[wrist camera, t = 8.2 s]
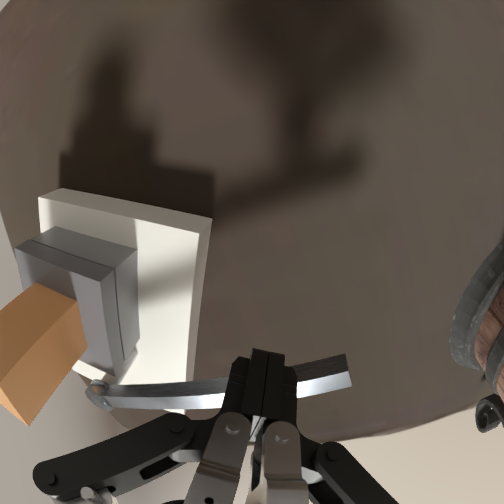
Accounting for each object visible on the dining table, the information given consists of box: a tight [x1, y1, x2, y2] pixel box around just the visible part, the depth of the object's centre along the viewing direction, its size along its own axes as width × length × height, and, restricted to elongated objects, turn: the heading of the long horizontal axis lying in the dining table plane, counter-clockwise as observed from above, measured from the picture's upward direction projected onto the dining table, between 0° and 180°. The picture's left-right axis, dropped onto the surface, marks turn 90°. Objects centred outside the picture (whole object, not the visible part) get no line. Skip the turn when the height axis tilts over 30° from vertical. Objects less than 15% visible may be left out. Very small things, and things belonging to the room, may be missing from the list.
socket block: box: [31, 188, 212, 415], centre depth 20 cm, size 20×14×8 cm
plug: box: [0, 240, 124, 426], centre depth 14 cm, size 8×8×12 cm
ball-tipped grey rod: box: [85, 354, 352, 411], centre depth 14 cm, size 18×2×1 cm, turn 112°
